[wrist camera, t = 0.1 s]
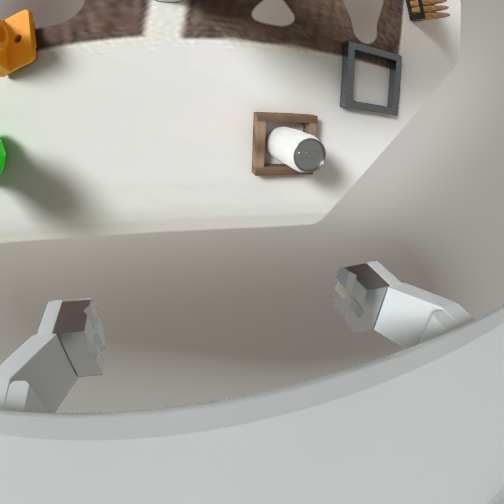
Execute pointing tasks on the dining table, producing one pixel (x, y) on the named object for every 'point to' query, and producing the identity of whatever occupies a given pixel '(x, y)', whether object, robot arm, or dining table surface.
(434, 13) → the ammunition clip
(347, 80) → the dark grey square frame
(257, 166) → the wooden square frame
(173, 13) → the dining table surface
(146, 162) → the dining table surface
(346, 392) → the robot arm
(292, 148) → the can
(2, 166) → the plastic bottle
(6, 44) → the orange figurine
